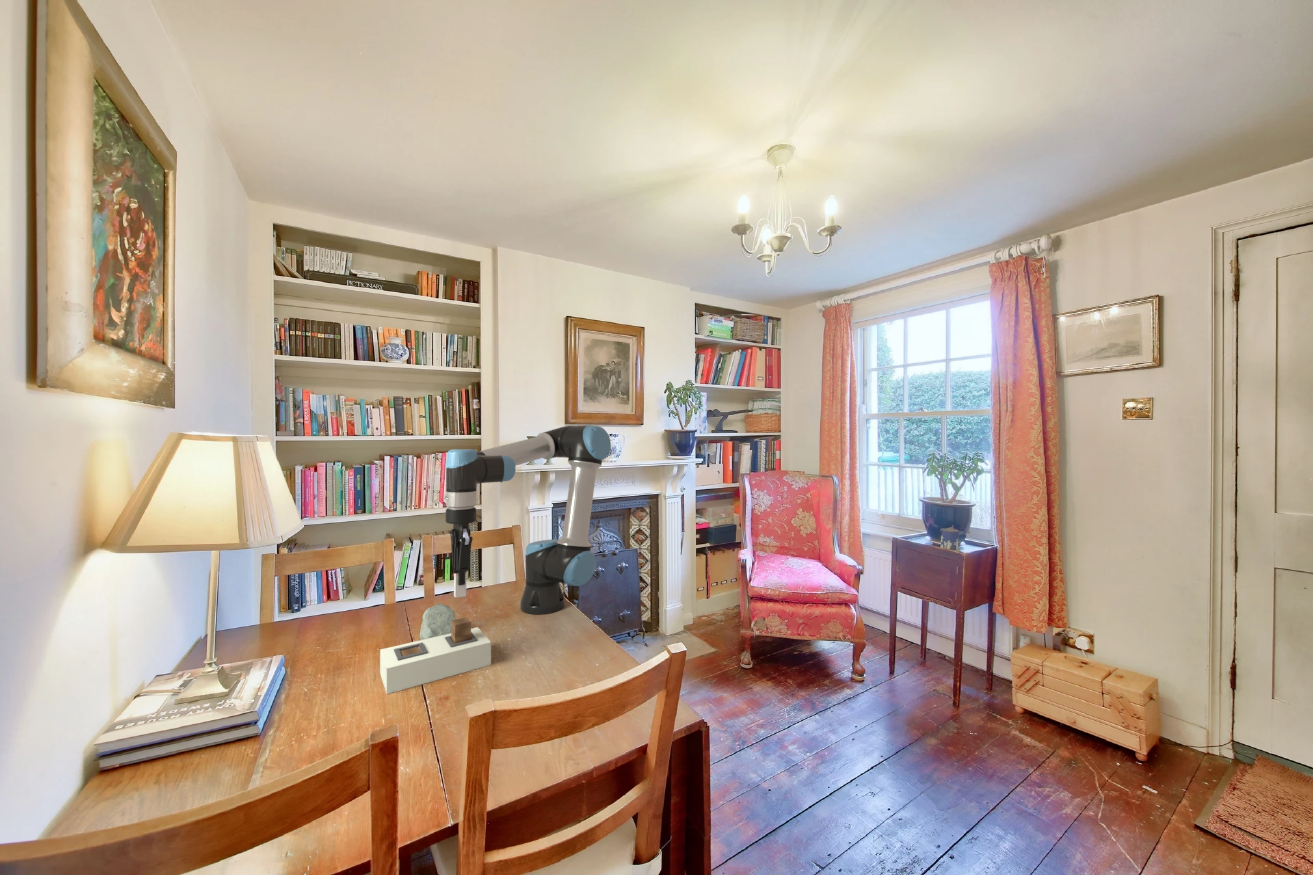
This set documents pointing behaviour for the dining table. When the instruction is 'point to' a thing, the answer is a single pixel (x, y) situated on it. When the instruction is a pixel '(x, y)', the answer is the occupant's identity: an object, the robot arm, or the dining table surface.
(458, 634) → the peg
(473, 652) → the socket block
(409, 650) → the peg
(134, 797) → the dining table surface
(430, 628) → the decorative stone
